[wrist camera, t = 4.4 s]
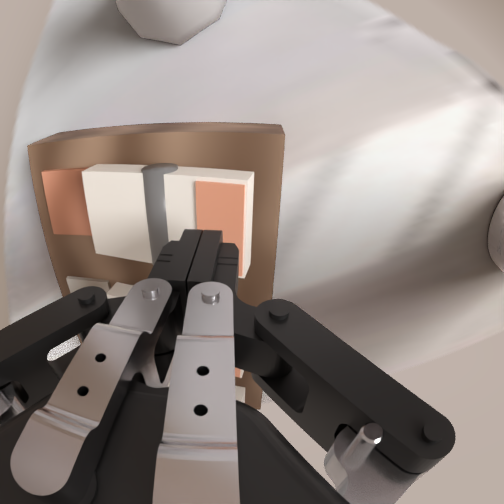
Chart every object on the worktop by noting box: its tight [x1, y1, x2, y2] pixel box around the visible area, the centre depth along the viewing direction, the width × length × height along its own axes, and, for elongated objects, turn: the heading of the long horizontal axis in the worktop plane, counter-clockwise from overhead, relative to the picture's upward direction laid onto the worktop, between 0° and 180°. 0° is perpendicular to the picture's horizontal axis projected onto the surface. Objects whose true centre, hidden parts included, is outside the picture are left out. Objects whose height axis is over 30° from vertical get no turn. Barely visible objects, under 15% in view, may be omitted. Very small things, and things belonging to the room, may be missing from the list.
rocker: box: [82, 163, 254, 278], centre depth 16 cm, size 9×5×2 cm, turn 88°
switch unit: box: [27, 122, 285, 409], centre depth 23 cm, size 16×24×4 cm, turn 178°
